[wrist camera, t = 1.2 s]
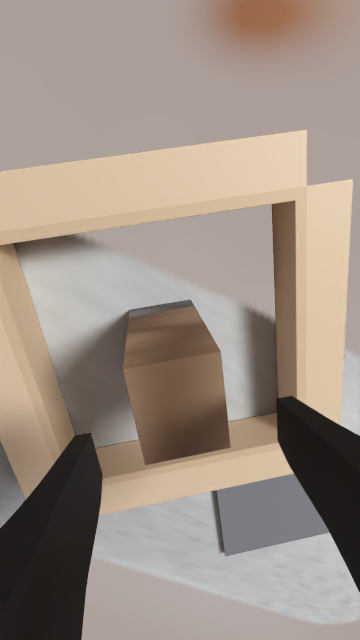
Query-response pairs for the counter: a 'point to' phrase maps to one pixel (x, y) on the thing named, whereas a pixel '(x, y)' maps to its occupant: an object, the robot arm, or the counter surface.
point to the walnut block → (175, 383)
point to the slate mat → (266, 514)
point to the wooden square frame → (163, 204)
